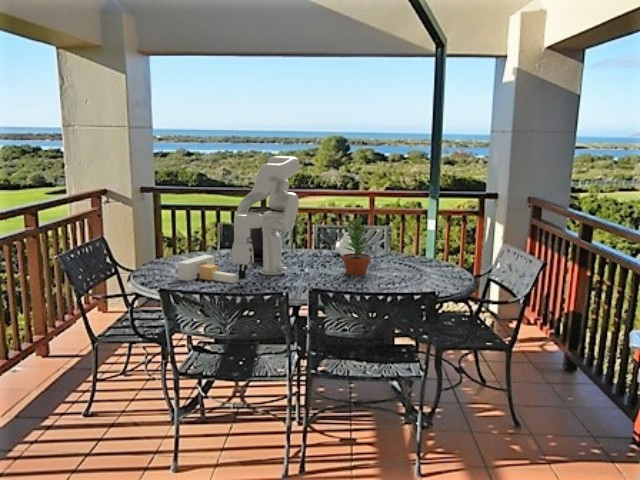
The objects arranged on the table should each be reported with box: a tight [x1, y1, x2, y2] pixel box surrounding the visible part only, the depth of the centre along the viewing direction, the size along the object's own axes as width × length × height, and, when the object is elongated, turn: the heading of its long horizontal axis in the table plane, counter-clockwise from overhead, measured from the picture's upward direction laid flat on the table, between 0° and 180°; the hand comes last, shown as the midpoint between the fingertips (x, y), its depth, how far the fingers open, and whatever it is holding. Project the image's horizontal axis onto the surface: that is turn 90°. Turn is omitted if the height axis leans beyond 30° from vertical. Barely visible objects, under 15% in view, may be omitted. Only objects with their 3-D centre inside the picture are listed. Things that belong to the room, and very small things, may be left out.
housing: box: [177, 254, 216, 282], centre depth 269 cm, size 6×20×8 cm, turn 151°
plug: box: [199, 264, 238, 284], centre depth 263 cm, size 20×6×6 cm, turn 61°
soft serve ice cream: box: [334, 231, 355, 257], centre depth 323 cm, size 12×15×14 cm
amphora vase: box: [249, 208, 273, 262], centre depth 306 cm, size 22×22×28 cm
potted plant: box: [342, 217, 371, 276], centre depth 277 cm, size 15×15×30 cm
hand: (242, 278), depth 256 cm, fingers closed
